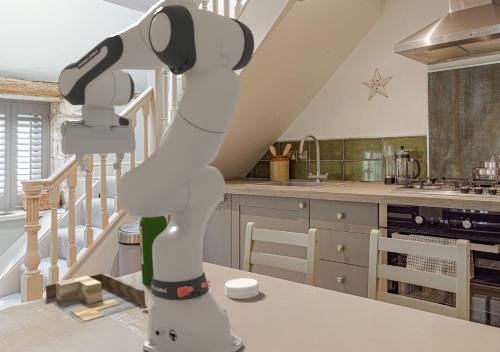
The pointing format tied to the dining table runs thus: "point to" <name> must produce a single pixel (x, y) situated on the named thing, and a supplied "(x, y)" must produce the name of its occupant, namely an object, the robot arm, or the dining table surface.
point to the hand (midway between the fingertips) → (101, 170)
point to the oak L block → (79, 289)
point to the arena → (113, 300)
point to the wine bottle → (149, 244)
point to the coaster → (242, 288)
